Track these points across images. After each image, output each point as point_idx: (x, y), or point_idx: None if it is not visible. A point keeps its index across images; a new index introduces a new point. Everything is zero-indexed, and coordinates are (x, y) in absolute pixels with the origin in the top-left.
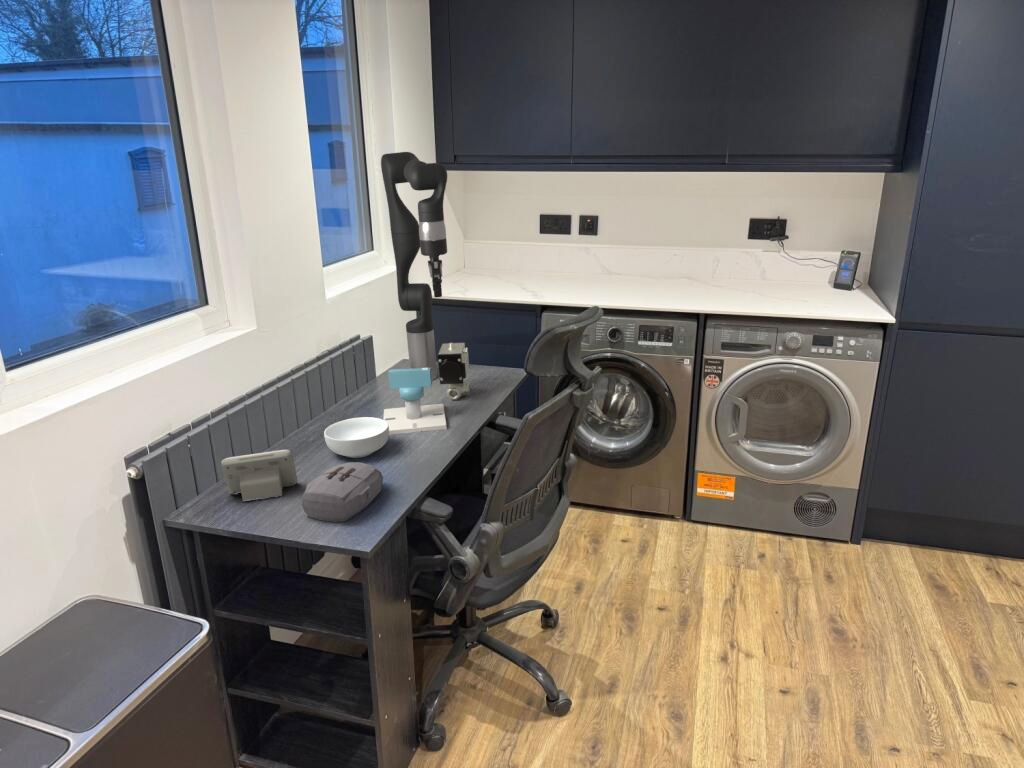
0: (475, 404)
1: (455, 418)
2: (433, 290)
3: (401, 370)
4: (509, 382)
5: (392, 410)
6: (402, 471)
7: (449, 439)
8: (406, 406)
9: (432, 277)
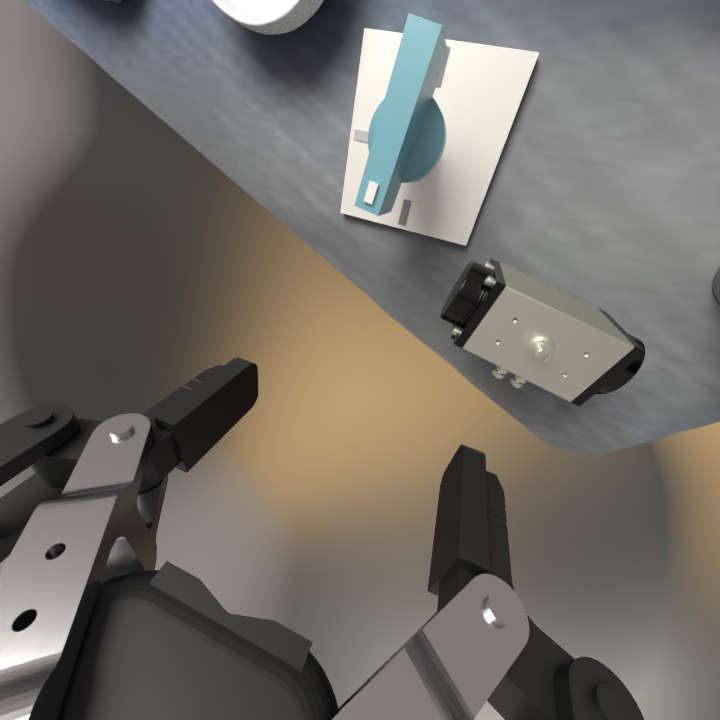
0: (440, 310)
1: (388, 247)
2: (461, 447)
3: (399, 90)
4: (517, 412)
5: (506, 85)
6: (188, 67)
7: (296, 202)
8: None
9: (9, 458)
